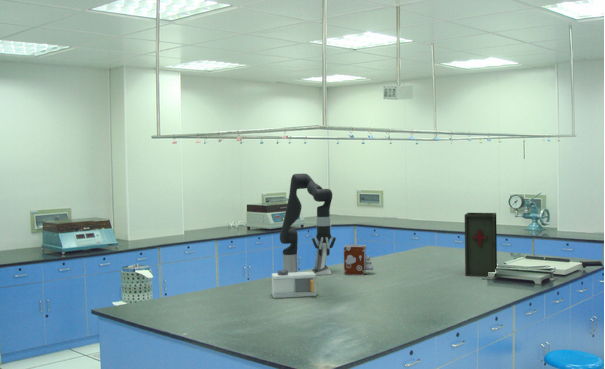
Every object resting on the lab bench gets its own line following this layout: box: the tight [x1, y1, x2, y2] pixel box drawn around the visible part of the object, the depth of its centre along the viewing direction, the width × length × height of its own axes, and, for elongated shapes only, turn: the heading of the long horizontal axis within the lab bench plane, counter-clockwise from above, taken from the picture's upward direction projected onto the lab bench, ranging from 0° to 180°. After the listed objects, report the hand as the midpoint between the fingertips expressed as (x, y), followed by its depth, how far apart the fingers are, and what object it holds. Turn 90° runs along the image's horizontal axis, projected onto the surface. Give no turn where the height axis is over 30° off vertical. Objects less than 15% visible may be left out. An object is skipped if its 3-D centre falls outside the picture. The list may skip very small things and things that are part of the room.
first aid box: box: [464, 212, 498, 278], centre depth 370 cm, size 18×18×40 cm
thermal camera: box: [311, 222, 332, 276], centre depth 383 cm, size 12×13×35 cm
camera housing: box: [271, 269, 318, 299], centre depth 318 cm, size 11×24×14 cm, turn 99°
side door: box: [295, 278, 314, 292], centre depth 311 cm, size 5×10×7 cm, turn 99°
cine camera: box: [343, 244, 374, 276], centre depth 378 cm, size 9×19×20 cm, turn 78°
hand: (324, 255), depth 311 cm, fingers open, 3 cm apart
